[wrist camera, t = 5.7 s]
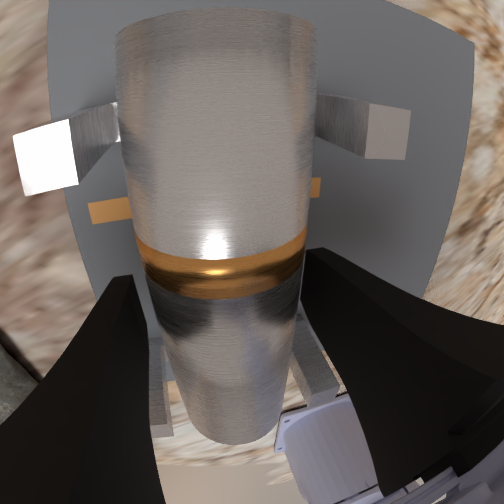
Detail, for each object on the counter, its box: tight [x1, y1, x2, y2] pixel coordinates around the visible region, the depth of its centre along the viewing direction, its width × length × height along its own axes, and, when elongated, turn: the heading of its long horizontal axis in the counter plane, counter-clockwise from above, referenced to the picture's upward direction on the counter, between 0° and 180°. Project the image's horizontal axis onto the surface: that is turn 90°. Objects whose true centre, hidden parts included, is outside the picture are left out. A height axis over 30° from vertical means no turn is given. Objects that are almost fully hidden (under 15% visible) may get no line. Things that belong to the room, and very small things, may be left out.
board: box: [47, 0, 474, 381], centre depth 12 cm, size 18×18×1 cm
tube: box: [114, 7, 318, 445], centre depth 9 cm, size 14×4×4 cm, turn 0°
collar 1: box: [13, 92, 411, 196], centre depth 7 cm, size 1×8×4 cm, turn 90°
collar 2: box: [148, 314, 340, 438], centre depth 12 cm, size 1×8×4 cm, turn 90°
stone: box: [0, 344, 39, 425], centre depth 12 cm, size 11×4×15 cm
